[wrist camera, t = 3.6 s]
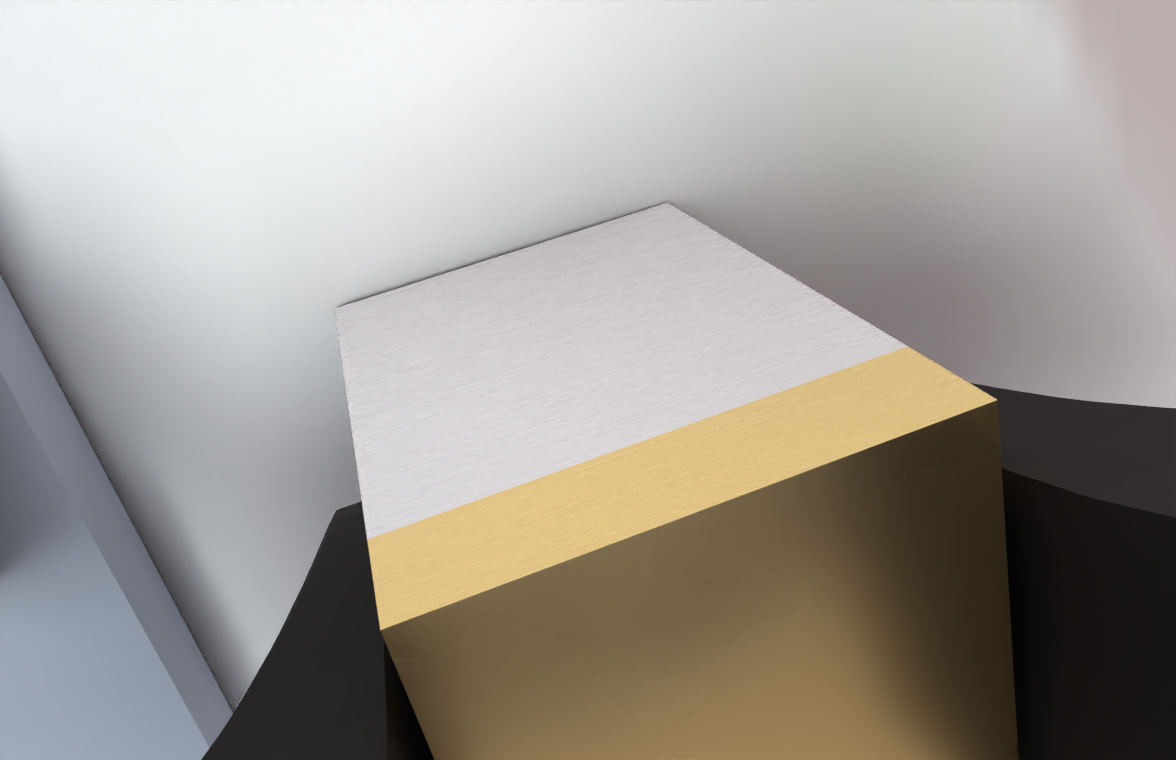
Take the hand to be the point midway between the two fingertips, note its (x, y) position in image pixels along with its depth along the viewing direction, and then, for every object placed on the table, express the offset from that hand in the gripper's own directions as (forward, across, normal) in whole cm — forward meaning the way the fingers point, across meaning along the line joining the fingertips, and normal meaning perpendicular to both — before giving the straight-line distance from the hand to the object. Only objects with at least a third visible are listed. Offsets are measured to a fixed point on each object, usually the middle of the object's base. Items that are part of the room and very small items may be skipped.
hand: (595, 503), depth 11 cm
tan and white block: (+2, 0, 0) cm, 2 cm away
